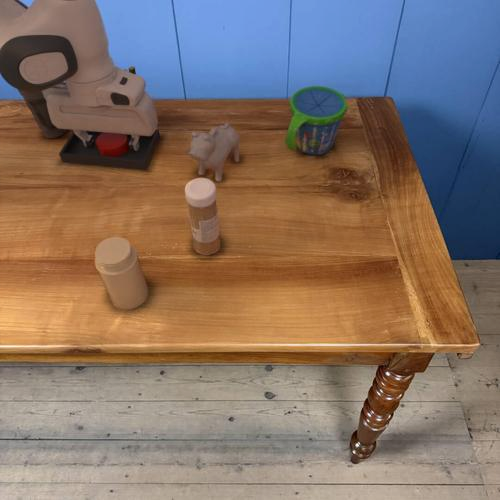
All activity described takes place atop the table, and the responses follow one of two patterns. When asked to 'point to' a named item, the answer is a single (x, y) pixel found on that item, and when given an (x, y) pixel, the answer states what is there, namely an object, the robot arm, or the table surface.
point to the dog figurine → (214, 148)
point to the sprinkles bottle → (203, 215)
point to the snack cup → (315, 119)
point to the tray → (91, 156)
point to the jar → (121, 273)
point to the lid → (112, 144)
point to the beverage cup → (41, 113)
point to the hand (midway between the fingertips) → (112, 147)
